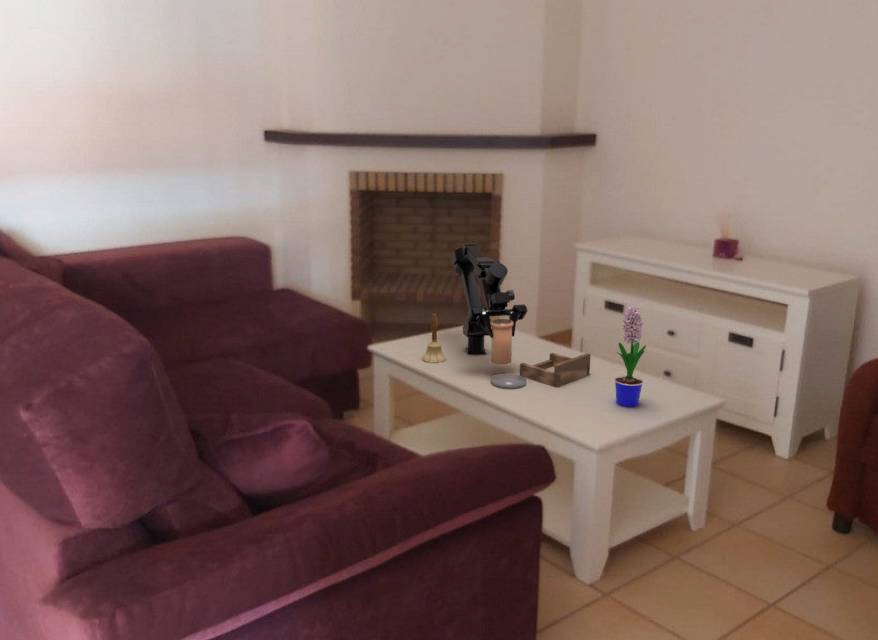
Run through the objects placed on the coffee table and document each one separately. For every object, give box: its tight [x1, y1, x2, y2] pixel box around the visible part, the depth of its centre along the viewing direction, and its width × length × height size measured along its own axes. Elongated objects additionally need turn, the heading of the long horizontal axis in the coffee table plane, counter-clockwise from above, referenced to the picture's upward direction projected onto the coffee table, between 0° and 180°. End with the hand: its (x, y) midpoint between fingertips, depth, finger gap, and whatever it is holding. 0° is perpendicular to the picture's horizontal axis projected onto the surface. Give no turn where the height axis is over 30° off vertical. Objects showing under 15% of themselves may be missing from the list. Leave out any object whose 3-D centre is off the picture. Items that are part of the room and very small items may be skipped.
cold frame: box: [519, 352, 591, 388], centre depth 273 cm, size 15×17×7 cm
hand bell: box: [421, 313, 447, 364], centre depth 286 cm, size 8×8×16 cm
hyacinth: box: [614, 305, 647, 408], centre depth 247 cm, size 9×10×30 cm
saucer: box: [490, 373, 527, 390], centre depth 266 cm, size 11×11×1 cm
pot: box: [490, 318, 513, 365], centre depth 270 cm, size 7×7×13 cm
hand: (502, 336), depth 269 cm, fingers closed on pot, 7 cm apart
